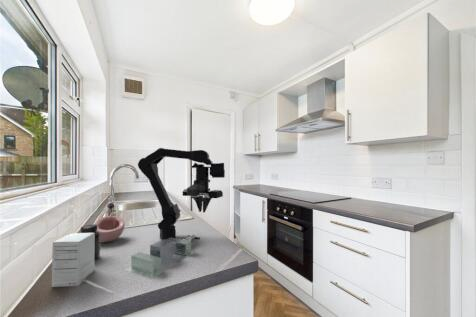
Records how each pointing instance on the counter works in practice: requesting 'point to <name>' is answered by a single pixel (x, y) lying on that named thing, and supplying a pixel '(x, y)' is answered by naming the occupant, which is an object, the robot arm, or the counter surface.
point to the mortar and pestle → (110, 228)
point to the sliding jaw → (183, 244)
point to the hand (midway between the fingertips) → (202, 212)
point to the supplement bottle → (92, 229)
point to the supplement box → (72, 259)
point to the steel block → (162, 250)
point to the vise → (152, 264)
